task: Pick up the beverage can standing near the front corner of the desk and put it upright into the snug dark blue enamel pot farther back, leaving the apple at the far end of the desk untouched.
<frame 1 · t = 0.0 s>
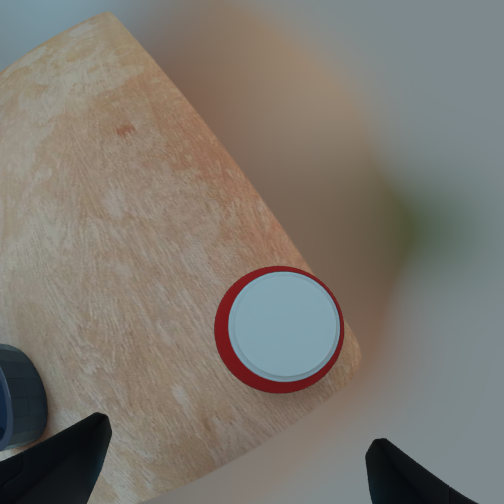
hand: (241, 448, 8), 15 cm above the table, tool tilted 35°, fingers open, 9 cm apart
pot: (11, 394, 19), on the table
beverage can: (261, 341, 23), on the table
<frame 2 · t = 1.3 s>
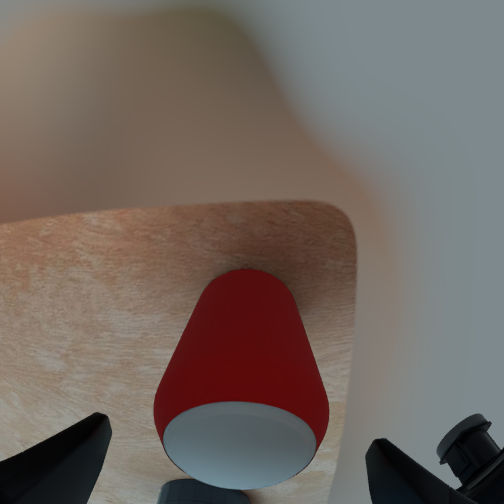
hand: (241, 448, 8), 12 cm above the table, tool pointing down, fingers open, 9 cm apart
pot: (205, 499, 24), on the table
beverage can: (246, 308, 19), on the table
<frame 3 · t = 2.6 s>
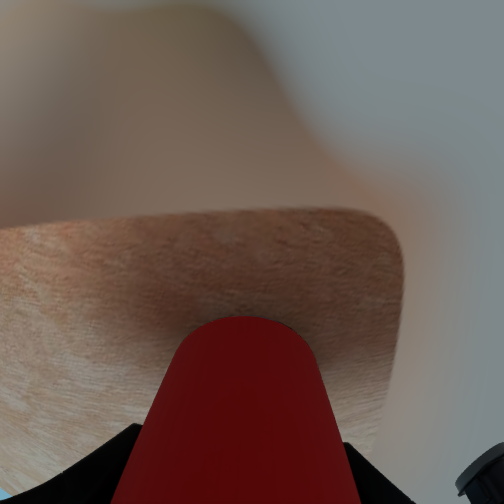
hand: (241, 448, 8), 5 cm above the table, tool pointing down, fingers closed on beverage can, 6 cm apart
beverage can: (244, 363, 13), on the table, touching gripper
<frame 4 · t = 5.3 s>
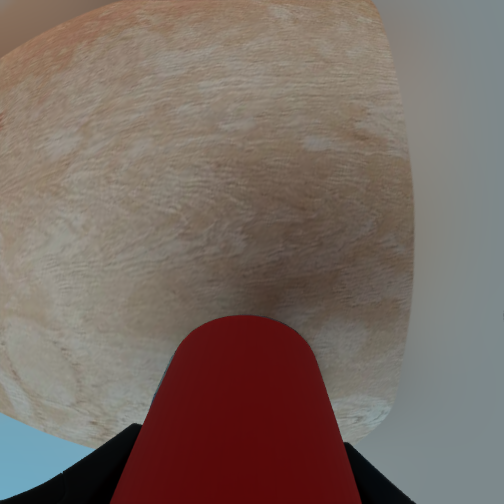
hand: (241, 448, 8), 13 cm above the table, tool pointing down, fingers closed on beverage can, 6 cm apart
beverage can: (245, 362, 13), point 8 cm above the table, touching gripper
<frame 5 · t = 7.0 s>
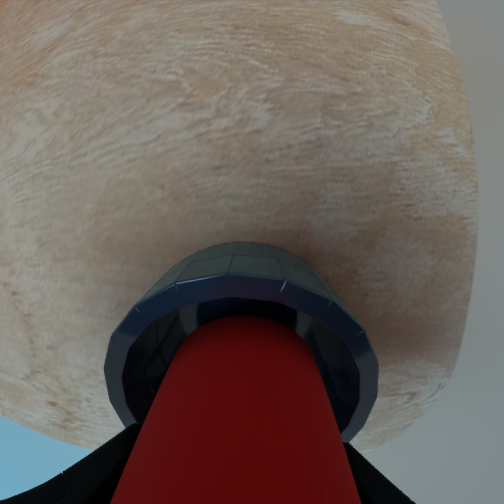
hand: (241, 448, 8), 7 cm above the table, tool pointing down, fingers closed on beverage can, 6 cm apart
pot: (243, 341, 15), on the table
beverage can: (244, 363, 13), point 2 cm above the table, touching gripper
when the fingers open (6 cm above the table, at t = 8.1 s): beverage can stays where it is, resting on pot.
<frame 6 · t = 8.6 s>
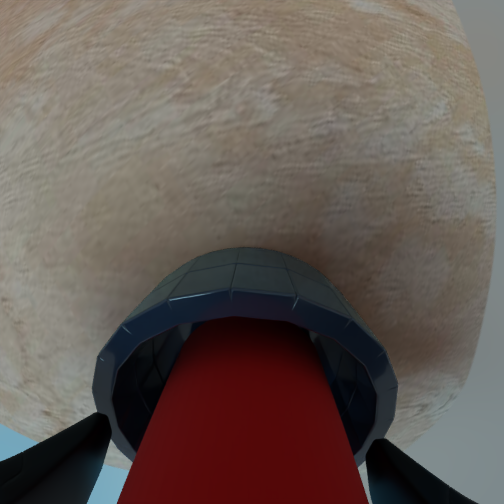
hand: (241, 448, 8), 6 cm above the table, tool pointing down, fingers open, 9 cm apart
pot: (246, 354, 14), on the table
beverage can: (248, 358, 13), resting on pot
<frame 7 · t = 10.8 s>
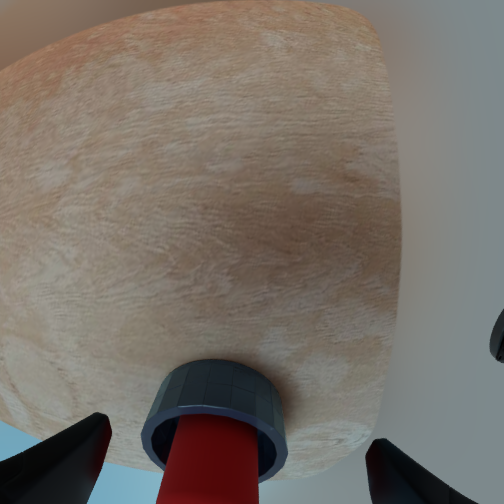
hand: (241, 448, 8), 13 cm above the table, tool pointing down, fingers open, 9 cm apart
pot: (219, 408, 22), on the table
beverage can: (220, 411, 22), resting on pot
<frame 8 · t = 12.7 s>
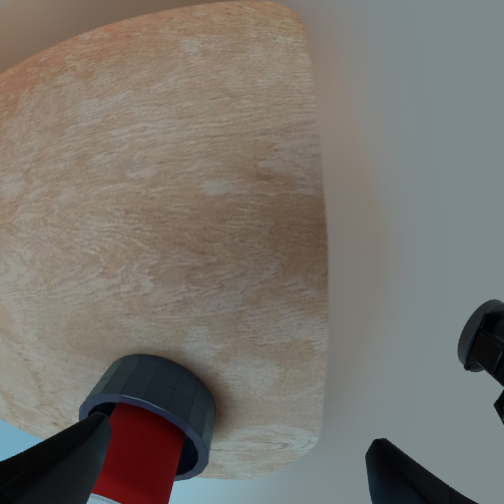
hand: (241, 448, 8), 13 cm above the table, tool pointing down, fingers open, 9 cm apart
pot: (157, 402, 23), on the table
beverage can: (157, 405, 22), resting on pot
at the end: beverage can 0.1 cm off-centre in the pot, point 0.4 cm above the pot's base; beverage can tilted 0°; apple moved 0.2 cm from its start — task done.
